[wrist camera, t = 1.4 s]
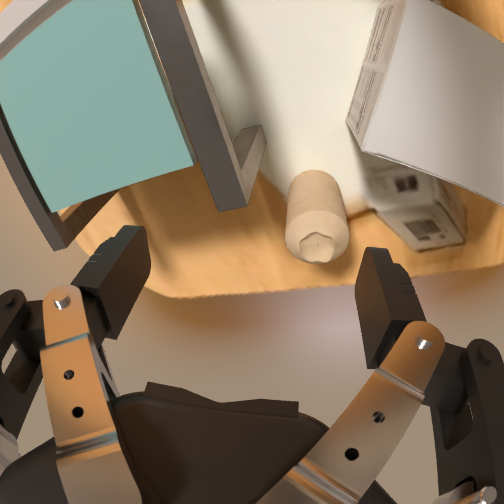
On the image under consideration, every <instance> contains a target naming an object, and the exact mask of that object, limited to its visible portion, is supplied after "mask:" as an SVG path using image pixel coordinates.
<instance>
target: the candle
mask: <svg viewBox="0 0 504 504" xmlns="http://www.w3.org/2000/svg"><path fill="white" fill-rule="evenodd" d="M349 239H350V234H349V229H348V224H347V219H346V214H345V210H344V205H343V201H342V196H341V192H340V188H339V186H338V184H337V182H336V180H335V179H334V178H333V177H332V176H331V175H329V174H328V173H326V172H323V171H319V170H309V171H305V172H303V173H301V174H299V175H298V176H297V177H296V178H295V179H294V180H293V181H292V183H291V185H290V188H289V194H288V205H287V217H286V229H285V243H286V246H287V248H288V250H289V251H290V253H291V254H292V255H293V256H295V257H296V258H297V259H299V260H301V261H303V262H306V263H311V264H323V263H327V262H330V261H333V260H335V259H336V258H338V257H339V256H340V255H342V254H343V252H344V251H345V250H346V248H347V246H348V244H349Z"/></svg>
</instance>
